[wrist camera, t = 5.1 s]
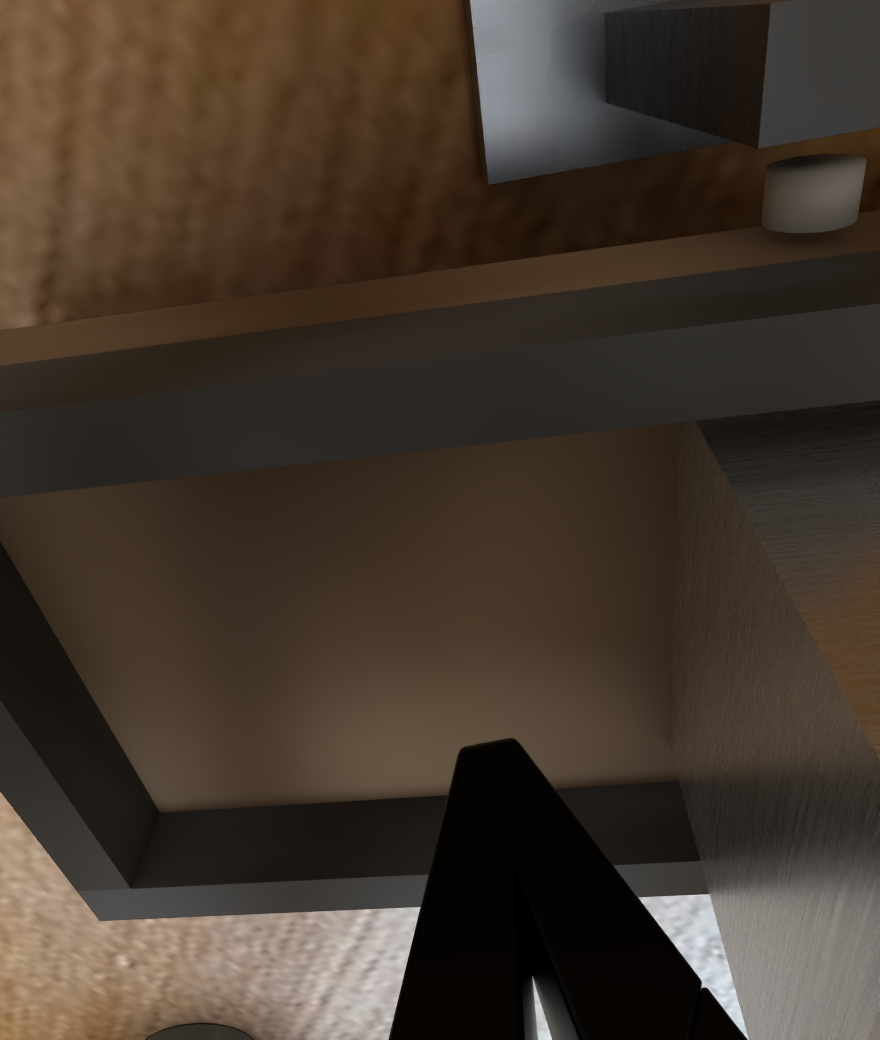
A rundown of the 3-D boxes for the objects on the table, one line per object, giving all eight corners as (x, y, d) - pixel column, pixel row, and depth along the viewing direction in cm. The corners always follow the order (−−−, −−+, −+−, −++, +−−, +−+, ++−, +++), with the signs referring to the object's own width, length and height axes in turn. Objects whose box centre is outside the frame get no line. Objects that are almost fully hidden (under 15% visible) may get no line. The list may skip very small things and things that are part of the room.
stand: (845, -103, 11) (1251, -209, 6) (749, 666, 21) (880, 878, 16) (459, -35, 11) (547, -86, 6) (536, 703, 21) (597, 928, 16)
